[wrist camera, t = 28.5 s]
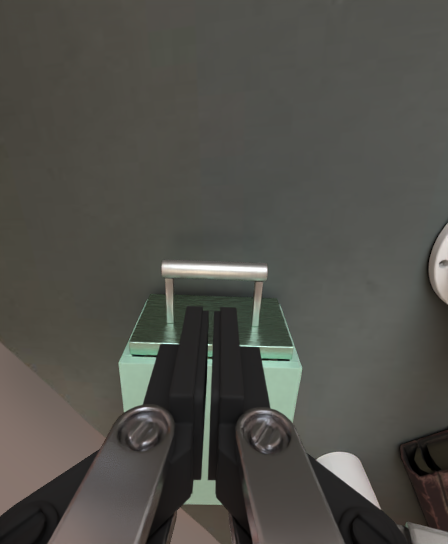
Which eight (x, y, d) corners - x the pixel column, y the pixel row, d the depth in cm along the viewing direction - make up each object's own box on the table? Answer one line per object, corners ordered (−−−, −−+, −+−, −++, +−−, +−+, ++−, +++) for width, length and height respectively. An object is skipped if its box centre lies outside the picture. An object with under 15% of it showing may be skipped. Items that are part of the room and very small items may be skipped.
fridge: (146, 299, 32) (118, 362, 23) (280, 304, 32) (302, 368, 23) (154, 419, 38) (134, 503, 29) (264, 421, 39) (277, 506, 30)
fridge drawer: (147, 239, 28) (122, 274, 21) (283, 244, 28) (304, 281, 21) (156, 411, 37) (141, 478, 29) (262, 413, 37) (272, 480, 30)
